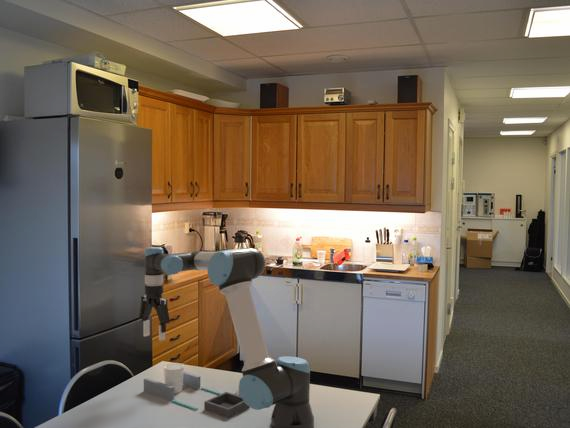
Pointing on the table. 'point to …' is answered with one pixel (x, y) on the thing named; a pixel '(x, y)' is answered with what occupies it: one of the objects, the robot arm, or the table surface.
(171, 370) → the white cup
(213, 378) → the table surface
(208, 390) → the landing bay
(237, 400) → the tray
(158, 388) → the walled channel
